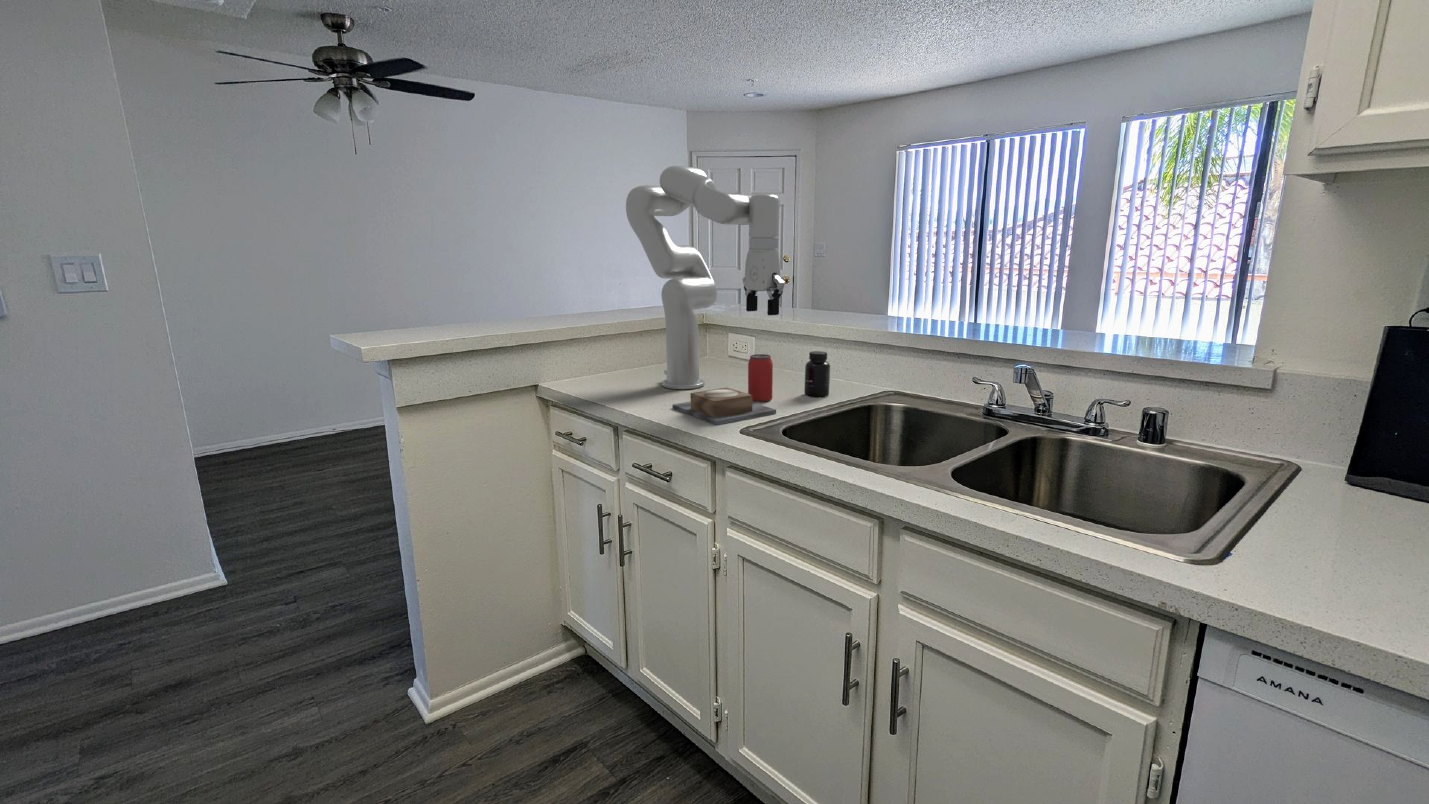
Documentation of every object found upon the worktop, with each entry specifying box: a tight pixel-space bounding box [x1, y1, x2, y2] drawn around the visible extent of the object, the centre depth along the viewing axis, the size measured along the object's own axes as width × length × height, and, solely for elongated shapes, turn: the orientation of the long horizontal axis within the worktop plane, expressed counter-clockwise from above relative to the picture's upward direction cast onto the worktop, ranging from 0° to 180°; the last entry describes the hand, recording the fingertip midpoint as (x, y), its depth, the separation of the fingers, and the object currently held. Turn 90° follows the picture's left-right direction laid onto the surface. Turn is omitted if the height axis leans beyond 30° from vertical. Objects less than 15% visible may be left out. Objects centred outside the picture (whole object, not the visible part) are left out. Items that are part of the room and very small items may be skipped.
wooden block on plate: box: [671, 386, 777, 426], centre depth 169 cm, size 20×18×5 cm
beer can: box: [747, 353, 774, 403], centre depth 180 cm, size 7×7×12 cm
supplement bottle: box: [803, 350, 831, 399], centre depth 184 cm, size 7×7×12 cm
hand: (762, 313), depth 174 cm, fingers open, 9 cm apart
